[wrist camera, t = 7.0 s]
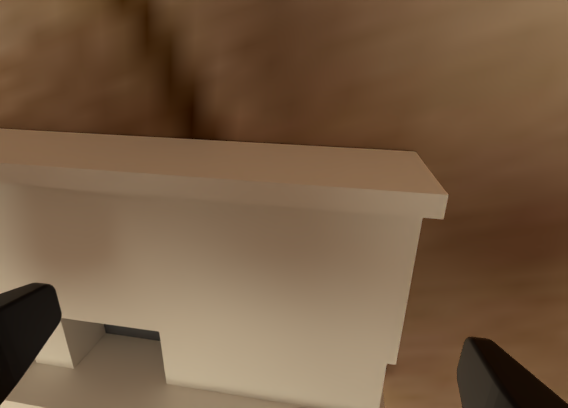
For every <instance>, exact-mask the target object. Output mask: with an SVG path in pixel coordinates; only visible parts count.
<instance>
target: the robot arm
mask: <svg viewBox="0 0 568 408" xmlns="http://www.w3.org/2000/svg"><path fill="white" fill-rule="evenodd" d="M61 317H62V311H61V308H60V304H59V300H58V297H57V293H56V290H55V288H54V287H53V285H51V284H46V283H36V282H35V283H30V284H27V285H24V286H21V287H18V288H15V289H13V290H10V291H7V292H4V293H1V294H0V405H1V404H2V403H3V402H4V400H5V399H6V398H7V397H8V395H9V394H10V393H11V392H12V390H13V389H14V388H15V386H16V385H17V384H18V382H19V381H20V380H21V378H22V377H23V375H24V374H25V373H26V371H27V370H28V368H29V367H30V365H31V364H32V362H33V361H34V360H35V358H36V357H37V355H38V354H39V352H40V351H41V349H42V348H43V347H44V345H45V344H46V342H47V341H48V339H49V338H50V336H51V335H52V334H53V332H54V331H55V329H56V328H57V326H58V325H59V323H60V321H61ZM457 381H458V387H459V392H460V397H461V402H462V407H463V408H568V404H567V403H566V402H565V401H564V400H562V399H561V398H560V397H559V396H558V395H556V394H555V393H554V392H553V391H552V390H551V389H549V388H548V387H547V386H546V385H545V384H543V383H542V382H541V381H540V380H539V379H537V378H536V377H535V376H534V375H533V374H531V373H530V372H529V371H528V370H527V369H525V368H524V367H523V366H522V365H521V364H520V363H518V362H517V361H516V360H515V359H514V358H512V357H511V356H510V355H509V354H508V353H506V352H505V351H504V350H503V349H502V348H500V347H499V346H498V345H497V344H496V343H494V342H493V341H492V340H490V339H486V338H478V337H468V338H466V340H465V342H464V345H463V349H462V352H461V356H460V360H459V364H458V368H457Z"/></svg>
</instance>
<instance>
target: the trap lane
mask: <svg viewBox="0 0 568 408" xmlns="http://www.w3.org/2000/svg"><path fill="white" fill-rule="evenodd" d="M448 196H449V195H448V194H447V192H446V191H445V190H444V188H443V187H442V186H441V184H440V183H439V182H438V180H437V179H436V178H435V177H434V175H433V174H432V173H431V171H430V170H429V169H428V167H427V166H426V165H425V163H424V162H423V161H422V159H421V158H420V157H419V156H418V154H417V153H416V152H415V151H399V150H381V149H362V148H344V147H326V146H308V145H290V144H272V143H254V142H236V141H218V140H199V139H181V138H163V137H145V136H127V135H109V134H91V133H73V132H55V131H36V130H18V129H0V294H1V293H4V292H7V291H10V290H13V289H15V288H18V287H21V286H24V285H27V284H30V283H35V282H36V283H46V284H51V285H53V287H54V288H55V290H56V293H57V297H58V300H59V304H60V308H61V311H62V317H61V321H60V323H59V325H58V326H57V328H56V329H55V331H54V332H53V334H52V335H51V336H50V338H49V339H48V341H47V342H46V344H45V345H44V347H43V348H42V349H41V351H40V352H39V354H38V355H37V357H36V358H35V360H34V361H33V362H32V364H31V365H30V367H29V368H28V370H27V371H26V373H25V374H24V375H23V377H22V378H21V380H20V381H19V382H18V384H17V385H16V386H15V388H14V389H13V390H12V392H11V393H10V394H9V395H8V397H7V398H6V399H5V400H4V402H3V403H2V404H1V405H0V408H385V407H384V398H383V383H384V377H385V372H386V366H387V364H394V365H396V361H397V356H398V350H399V345H400V339H401V334H402V328H403V323H404V317H405V312H406V306H407V301H408V296H409V290H410V285H411V279H412V274H413V268H414V263H415V257H416V252H417V246H418V241H419V235H420V230H421V225H422V219H423V218H432V219H444V215H445V210H446V205H447V200H448Z"/></svg>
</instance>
